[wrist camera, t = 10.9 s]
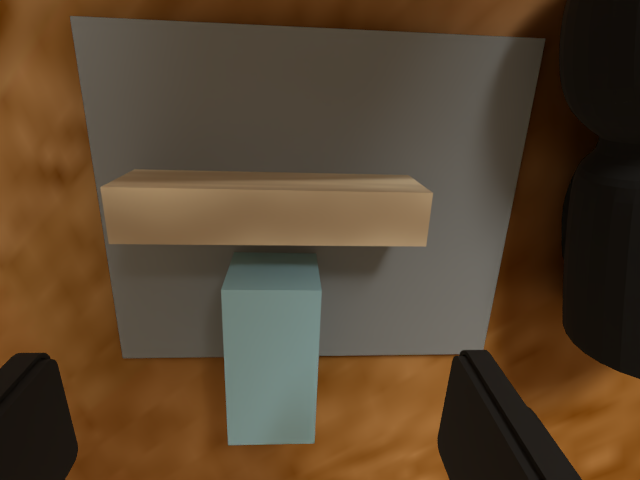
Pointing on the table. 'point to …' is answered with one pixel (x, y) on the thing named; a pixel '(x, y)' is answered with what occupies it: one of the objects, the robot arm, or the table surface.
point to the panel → (313, 166)
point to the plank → (265, 209)
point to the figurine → (603, 182)
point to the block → (271, 347)
